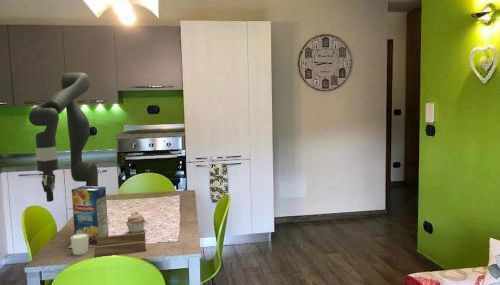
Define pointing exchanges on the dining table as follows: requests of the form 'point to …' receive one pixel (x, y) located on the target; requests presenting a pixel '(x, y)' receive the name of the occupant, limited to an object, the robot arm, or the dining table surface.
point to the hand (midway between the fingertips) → (50, 201)
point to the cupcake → (135, 223)
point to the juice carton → (90, 212)
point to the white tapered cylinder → (80, 243)
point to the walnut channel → (120, 244)
